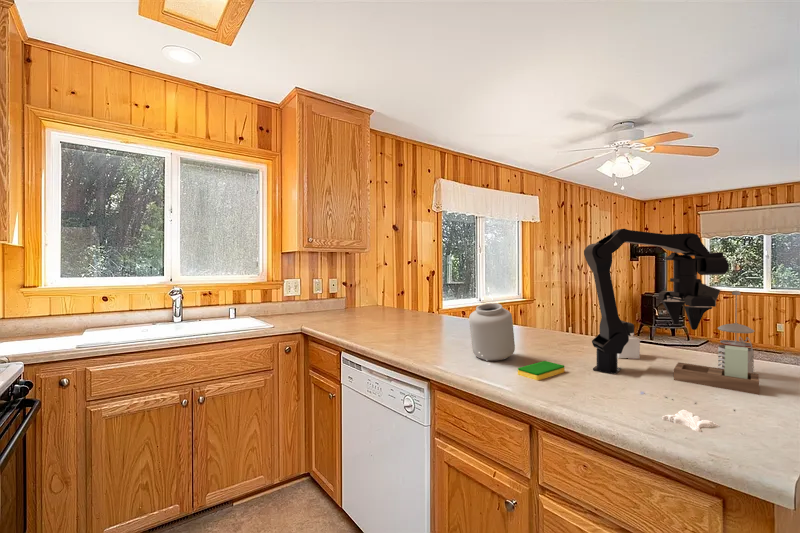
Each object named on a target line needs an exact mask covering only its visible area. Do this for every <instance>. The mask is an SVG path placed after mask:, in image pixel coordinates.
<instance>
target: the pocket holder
mask: <svg viewBox="0 0 800 533" xmlns="http://www.w3.org/2000/svg"><path fill="white" fill-rule="evenodd" d="M673 381H677V382H683V383H689V384H695V385H700V386H706V387H711V388H717V389H722V390H727V391H735V392H741V393H746V394H751V395H756V396H757V395H758V396H759V395H760V377H759V373H755V372H754V373H748V379H744V378H737V377H731V376H725V369H721V368H718V367H715V366H714V367H713V366H712V367H711V366H706V365H699V364H692V363H686V362H685V363H684V362H679V361H678V362H677V364H676V365H675V367H674V368H673Z"/></svg>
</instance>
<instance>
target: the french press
mask: <svg viewBox="0 0 800 533" xmlns="http://www.w3.org/2000/svg"><path fill="white" fill-rule="evenodd" d="M731 295H733V296H734V295H735V312H734V313H735V322H734V323H726V324H722V325H720V326H718V327H717V329H718V330H719V331H721V332H727V333H733V334H734V335H735V337H734V340H732V339H722V340H720V341H719V342H720V344H721V345H718V347H717V353H718V354H717V357H718V359H717V362H718V363H717V368H721V369H725V345H727V346H736V347H745V348H748V373H755V371H754V369H755V368H754V367H755V366H754V365H755V364H754V363H755V362H754V360H755V359H754V357H755V356H754V355H755V351H754V349H753V344H752V342H751V339H750V338H749V336H746V337H745V340H743V338H742V336H738V340H737V334H753V333H754V332H755V330H754V329H753V328H751V327H749V326H747V325H744V324H739V323H737V322H738V321H737V316H738V315H737V312H738V310H737V305H738V303H737V300H738V297H737V296H741V292H740V291H739V290H733V291H732V292H731ZM747 341H748V342H747Z"/></svg>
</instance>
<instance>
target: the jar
mask: <svg viewBox="0 0 800 533" xmlns="http://www.w3.org/2000/svg"><path fill="white" fill-rule="evenodd" d="M487 289H488V290H487V292H490V287H487ZM488 297H490V298H491V299H492V300H493V296H491V294H489V296H488ZM484 298H485V297H482V300H484ZM468 324H469V331H470V332H469V334H470V340H471V341H470V342H471V349H472V353H473V355H474V356H476V357H477V358H479V359H480V360H484V361H490V362H491V361H492V362H494V361H495V362H497V361H503V360H505V359H508V358H510V357H511V356H512V355H513V354H514V353H515V351H516V350H515V349H516V345H515V333H514V321H513V314H512V312H510V311H509V310H508V309H506V308H504V307H503V305H502V304H501V303H499V302H498V301H497V302H496V303H495V302H489V303H488V302H487V303H481V304H479V305H477V306H476V307H475V310H474V311H472V312H471V313H470V314H469V317H468ZM488 365H491V363H488Z"/></svg>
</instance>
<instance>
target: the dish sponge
mask: <svg viewBox="0 0 800 533" xmlns="http://www.w3.org/2000/svg"><path fill="white" fill-rule="evenodd" d="M565 367H566V366H565V365H564V364H559V363H555V362H552V361H549V360H548V361H547V360H543V361H539V362H535V363H532V364H527V365H524V366H520V367H518V368H517V375H518V376H521V377H524V378H528V379H531V380H534V381H542V380H544V379H547V378H550V377H553V376H554V377H555V376H556V375H560V374H563V373H565V371H566V370H565Z"/></svg>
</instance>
